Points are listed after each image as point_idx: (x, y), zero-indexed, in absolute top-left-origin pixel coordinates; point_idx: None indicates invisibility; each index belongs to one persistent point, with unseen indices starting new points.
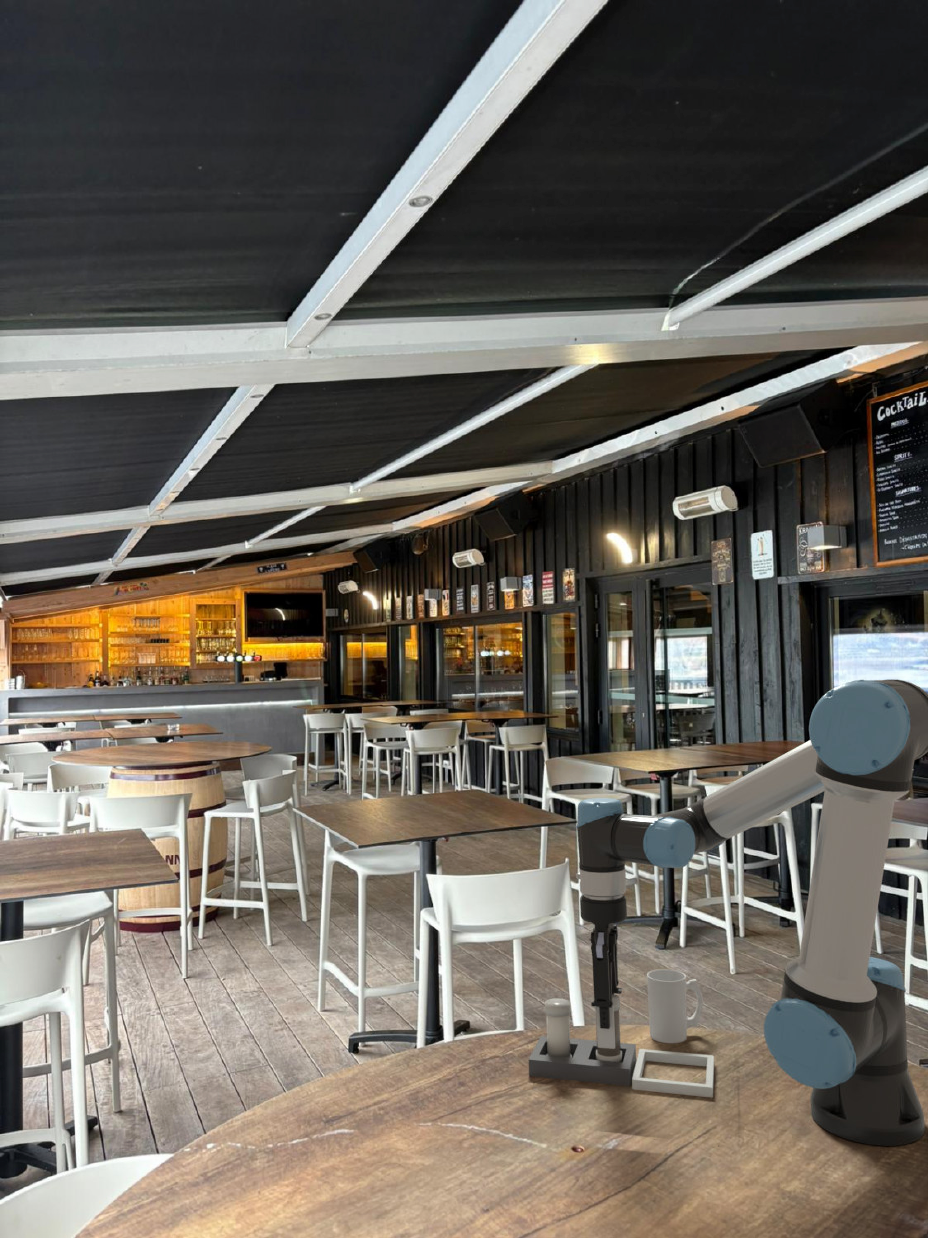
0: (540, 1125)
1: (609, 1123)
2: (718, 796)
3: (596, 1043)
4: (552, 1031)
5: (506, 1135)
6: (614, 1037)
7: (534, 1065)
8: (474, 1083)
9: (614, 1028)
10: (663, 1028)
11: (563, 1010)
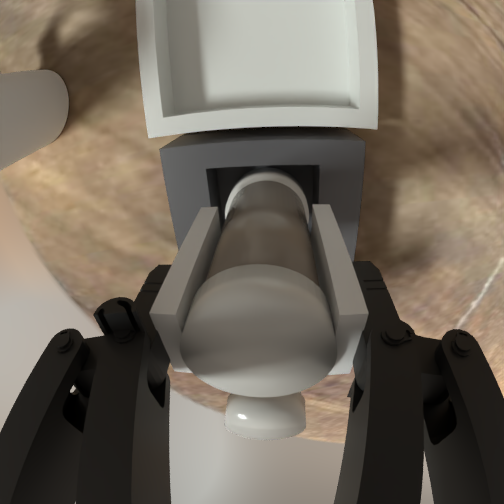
0: (460, 276)
1: (462, 169)
2: None
3: None
4: None
5: (474, 306)
6: (332, 222)
7: None
8: None
9: (326, 239)
10: (35, 112)
11: (298, 408)
